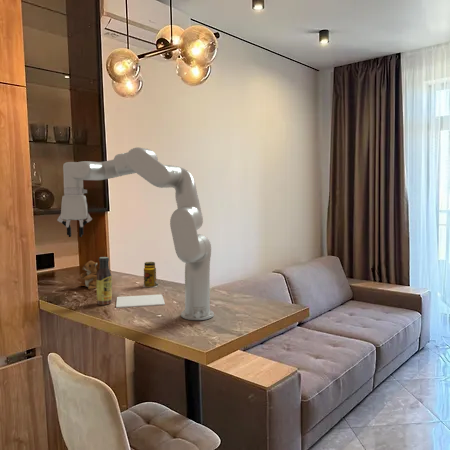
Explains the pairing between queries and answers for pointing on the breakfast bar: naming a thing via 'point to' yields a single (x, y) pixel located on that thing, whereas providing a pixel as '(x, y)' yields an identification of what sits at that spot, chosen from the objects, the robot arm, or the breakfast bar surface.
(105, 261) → the sauce bottle
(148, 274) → the condiment
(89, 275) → the stuffed squirrel
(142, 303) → the mat
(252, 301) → the breakfast bar surface
